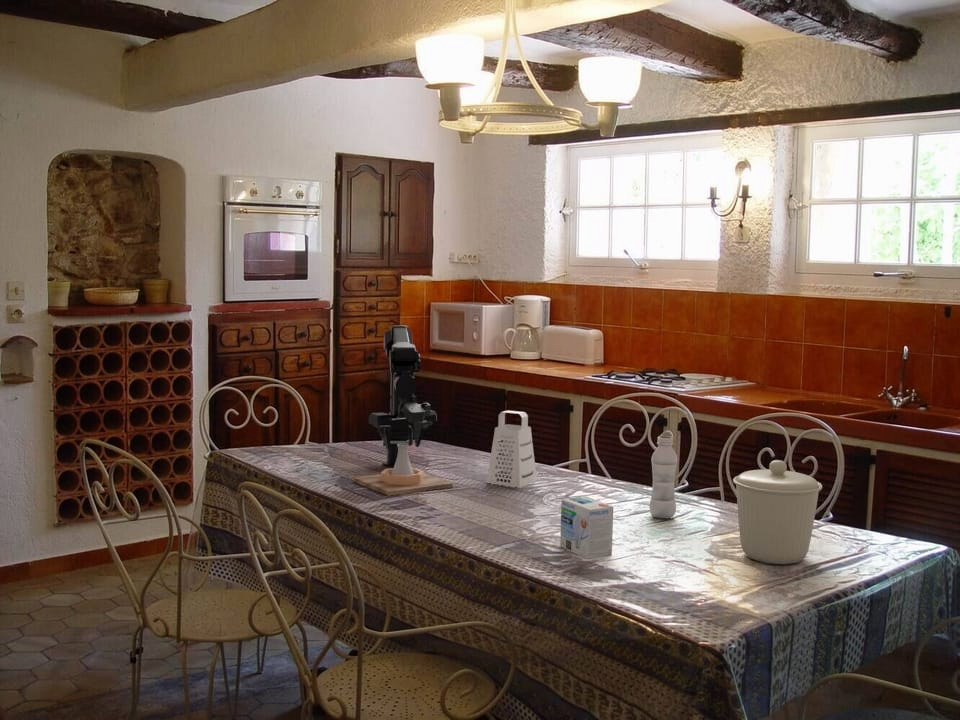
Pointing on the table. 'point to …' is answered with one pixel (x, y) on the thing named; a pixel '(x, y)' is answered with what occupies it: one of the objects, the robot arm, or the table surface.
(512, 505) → the table surface
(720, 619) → the table surface
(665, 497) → the plastic bottle
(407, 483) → the ring
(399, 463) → the flask
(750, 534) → the canister
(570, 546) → the light bulb box
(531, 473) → the grater
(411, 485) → the board
